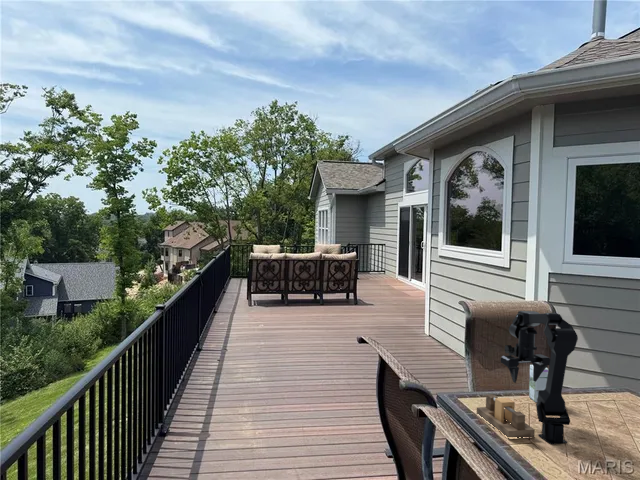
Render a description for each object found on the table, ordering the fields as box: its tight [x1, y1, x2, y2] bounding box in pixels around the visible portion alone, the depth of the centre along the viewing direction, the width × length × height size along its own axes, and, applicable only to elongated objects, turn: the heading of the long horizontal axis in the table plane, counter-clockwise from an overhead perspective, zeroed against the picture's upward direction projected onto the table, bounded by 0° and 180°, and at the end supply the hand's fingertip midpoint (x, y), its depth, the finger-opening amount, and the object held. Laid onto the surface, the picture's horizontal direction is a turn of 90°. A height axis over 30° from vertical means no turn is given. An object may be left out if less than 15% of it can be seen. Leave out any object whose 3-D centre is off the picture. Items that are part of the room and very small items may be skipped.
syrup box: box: [528, 364, 549, 403], centre depth 184 cm, size 6×6×14 cm
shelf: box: [476, 394, 536, 438], centre depth 158 cm, size 20×10×8 cm, turn 11°
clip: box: [495, 397, 516, 424], centre depth 158 cm, size 4×5×8 cm
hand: (524, 381), depth 170 cm, fingers open, 9 cm apart
